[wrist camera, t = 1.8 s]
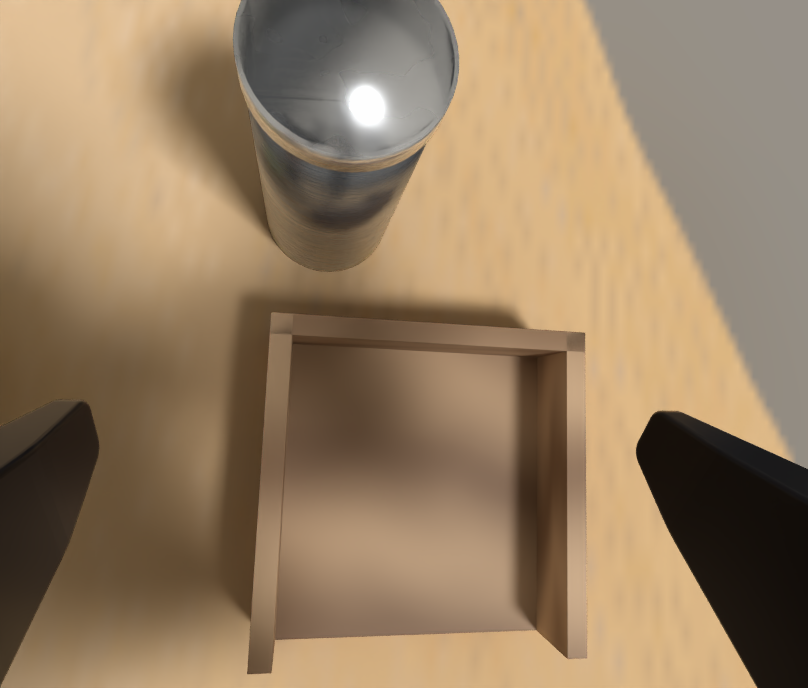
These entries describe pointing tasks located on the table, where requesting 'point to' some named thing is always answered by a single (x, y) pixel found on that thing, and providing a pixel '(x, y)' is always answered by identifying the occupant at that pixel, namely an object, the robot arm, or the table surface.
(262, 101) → the canister
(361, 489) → the holder
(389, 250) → the table surface
